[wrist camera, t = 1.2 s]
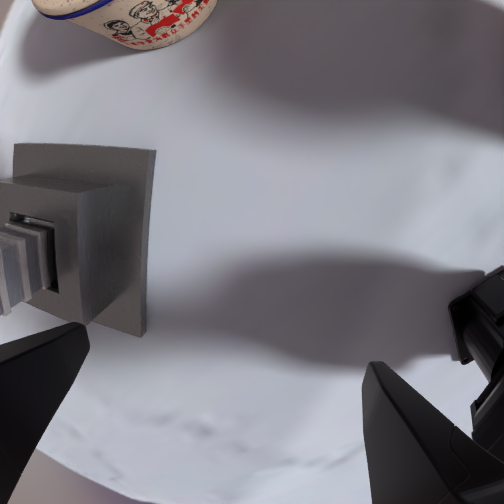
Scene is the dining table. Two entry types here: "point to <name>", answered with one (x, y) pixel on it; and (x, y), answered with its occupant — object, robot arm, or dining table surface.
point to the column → (25, 260)
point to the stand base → (88, 227)
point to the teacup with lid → (132, 18)
